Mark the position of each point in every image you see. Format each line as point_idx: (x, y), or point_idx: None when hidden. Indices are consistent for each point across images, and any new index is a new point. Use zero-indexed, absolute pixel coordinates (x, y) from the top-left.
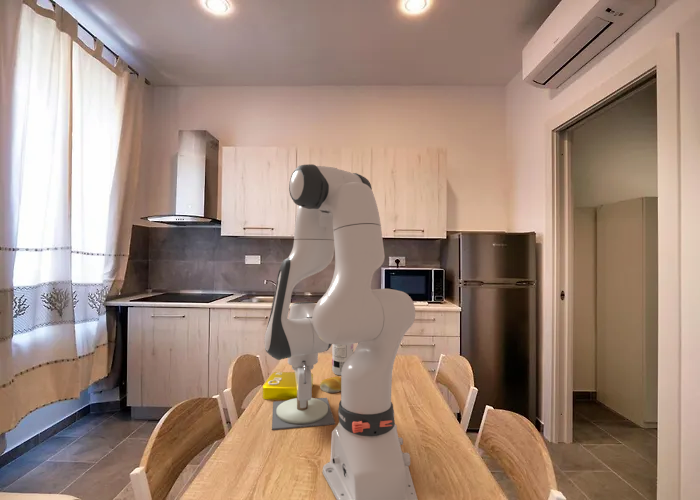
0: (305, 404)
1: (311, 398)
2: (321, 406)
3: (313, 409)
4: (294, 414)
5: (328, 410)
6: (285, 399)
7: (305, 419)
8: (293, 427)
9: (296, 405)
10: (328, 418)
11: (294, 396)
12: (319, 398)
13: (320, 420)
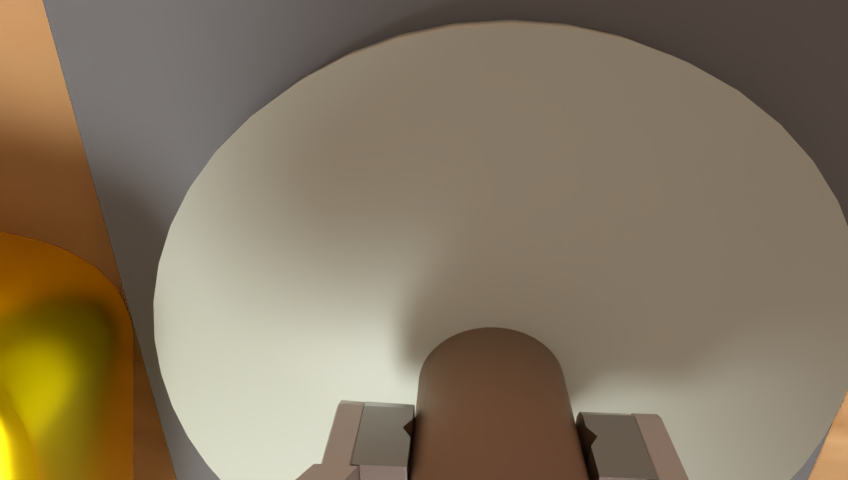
0: (671, 451)
1: (186, 249)
2: (509, 137)
3: (579, 265)
4: None
5: (546, 8)
6: (130, 470)
7: (841, 387)
8: None
9: None
10: (825, 51)
11: (109, 424)
12: (84, 98)
13: (826, 178)
